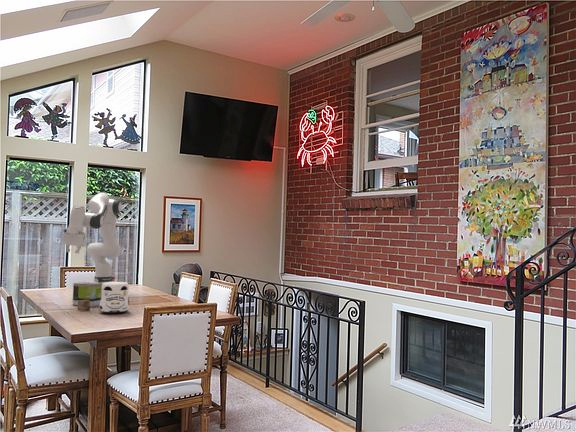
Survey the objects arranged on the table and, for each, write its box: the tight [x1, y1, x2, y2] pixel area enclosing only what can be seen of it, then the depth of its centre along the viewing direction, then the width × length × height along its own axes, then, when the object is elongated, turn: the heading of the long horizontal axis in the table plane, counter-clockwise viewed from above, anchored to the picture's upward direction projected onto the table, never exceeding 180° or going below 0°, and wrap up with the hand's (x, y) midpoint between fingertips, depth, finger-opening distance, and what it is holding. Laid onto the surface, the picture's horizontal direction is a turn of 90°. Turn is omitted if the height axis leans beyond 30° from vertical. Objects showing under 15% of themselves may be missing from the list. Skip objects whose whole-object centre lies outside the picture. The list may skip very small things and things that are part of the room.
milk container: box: [99, 281, 130, 315], centre depth 302 cm, size 17×17×18 cm
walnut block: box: [77, 300, 91, 312], centre depth 307 cm, size 5×5×6 cm
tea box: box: [72, 281, 102, 308], centre depth 324 cm, size 15×10×15 cm, turn 71°
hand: (72, 252), depth 314 cm, fingers open, 8 cm apart
